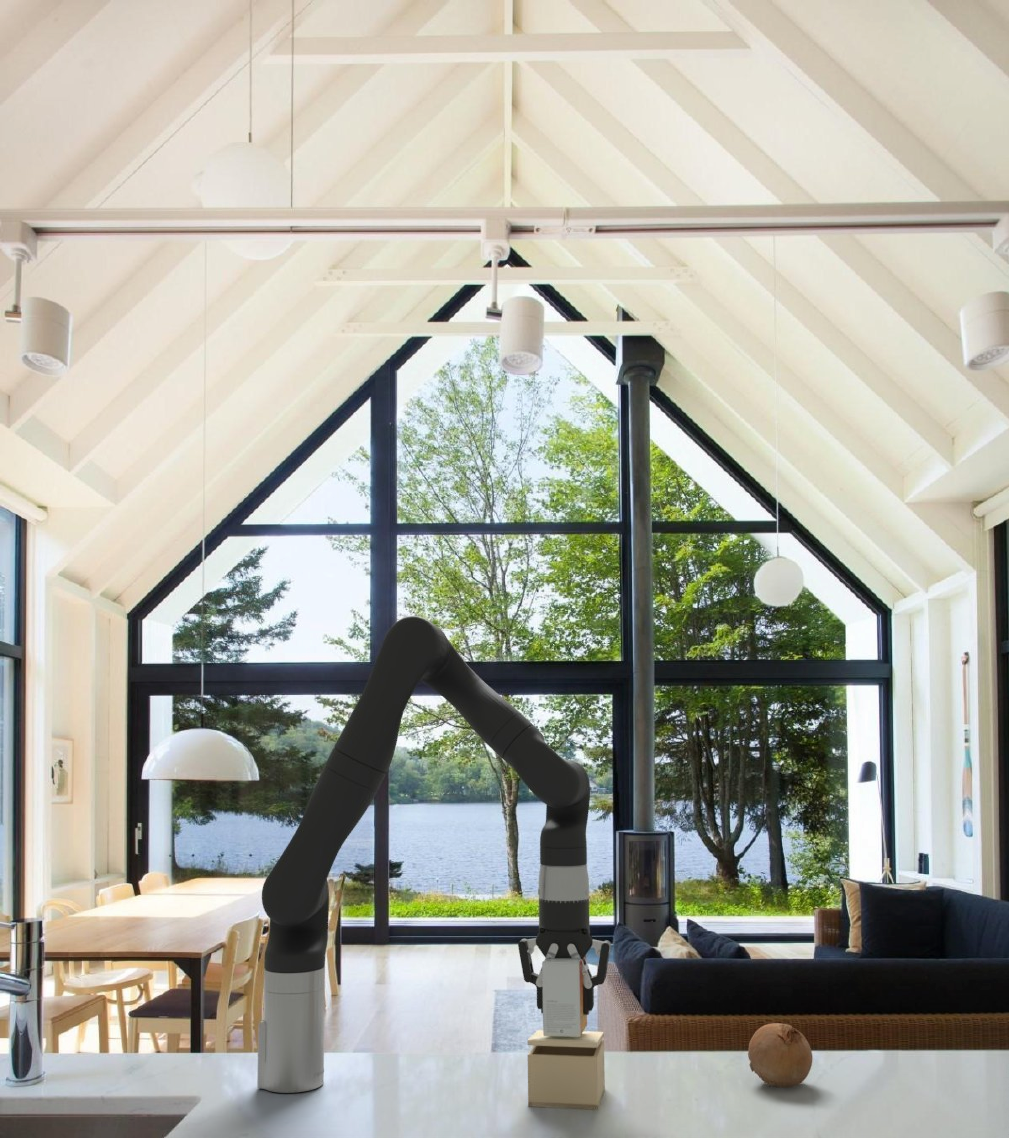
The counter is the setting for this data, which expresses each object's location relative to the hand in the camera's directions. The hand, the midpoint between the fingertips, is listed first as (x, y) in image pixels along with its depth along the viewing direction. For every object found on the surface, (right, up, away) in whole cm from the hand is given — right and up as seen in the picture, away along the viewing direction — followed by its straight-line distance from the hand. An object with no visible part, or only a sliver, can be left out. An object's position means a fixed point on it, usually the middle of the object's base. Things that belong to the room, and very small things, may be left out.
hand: (565, 1012), depth 176 cm
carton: (0, -12, -2) cm, 12 cm away
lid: (0, -4, -1) cm, 4 cm away
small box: (0, -3, 0) cm, 3 cm away
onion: (+33, -12, +4) cm, 35 cm away
